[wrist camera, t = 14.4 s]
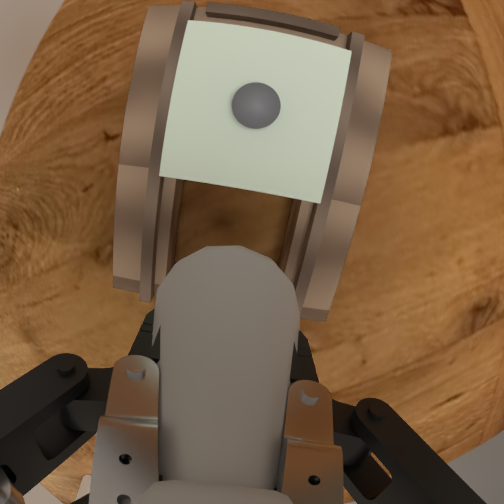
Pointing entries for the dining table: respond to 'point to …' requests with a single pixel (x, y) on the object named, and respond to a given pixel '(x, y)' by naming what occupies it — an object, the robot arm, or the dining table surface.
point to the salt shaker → (222, 377)
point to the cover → (254, 110)
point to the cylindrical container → (84, 487)
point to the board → (170, 189)
